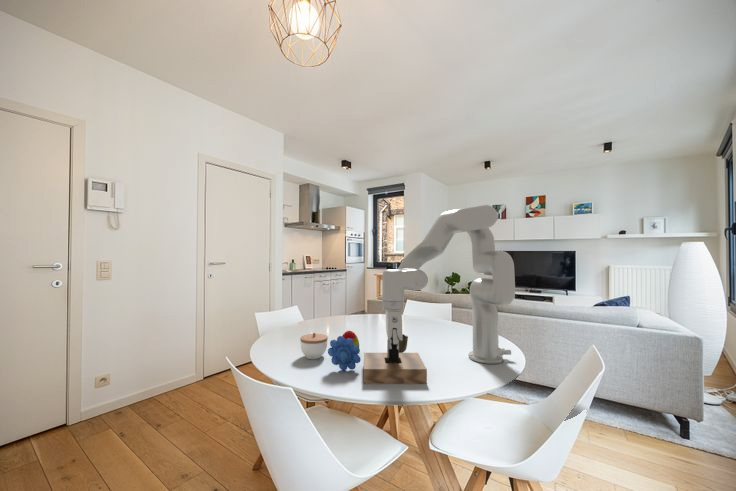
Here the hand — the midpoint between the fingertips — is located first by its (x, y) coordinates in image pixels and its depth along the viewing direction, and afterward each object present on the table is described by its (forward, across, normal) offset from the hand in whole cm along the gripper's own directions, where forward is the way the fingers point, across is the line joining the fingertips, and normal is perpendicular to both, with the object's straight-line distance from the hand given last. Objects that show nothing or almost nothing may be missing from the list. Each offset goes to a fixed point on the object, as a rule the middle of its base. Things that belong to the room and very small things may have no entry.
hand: (393, 358), depth 103 cm
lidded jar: (+5, +17, +30) cm, 35 cm away
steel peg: (+2, 0, 0) cm, 2 cm away
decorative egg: (+5, +18, +16) cm, 25 cm away
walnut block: (+5, 0, 0) cm, 5 cm away
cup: (+5, +18, -4) cm, 19 cm away
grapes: (+5, +2, +17) cm, 18 cm away
